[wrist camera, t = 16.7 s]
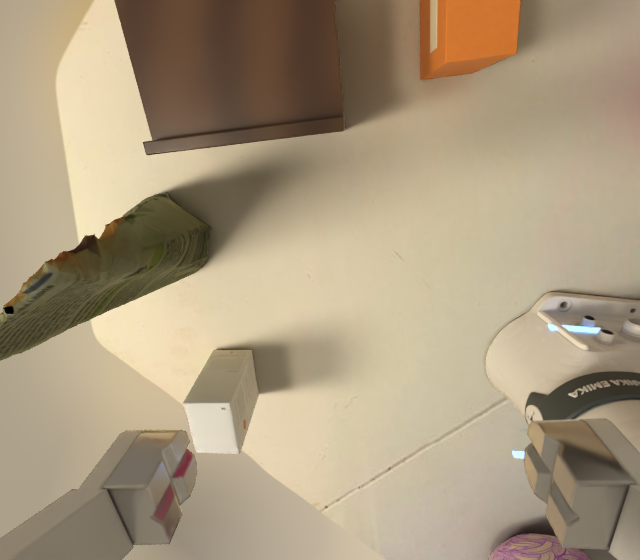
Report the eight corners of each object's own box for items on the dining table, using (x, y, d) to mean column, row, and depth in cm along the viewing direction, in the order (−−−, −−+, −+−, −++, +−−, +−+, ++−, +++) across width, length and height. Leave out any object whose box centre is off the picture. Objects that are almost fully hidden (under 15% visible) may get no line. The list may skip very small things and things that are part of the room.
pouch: (128, 268, 46) (-92, 408, 23) (123, 173, 41) (-158, 229, 18) (213, 284, 46) (78, 439, 23) (218, 191, 41) (56, 269, 18)
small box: (213, 348, 50) (181, 401, 40) (253, 348, 49) (230, 402, 40) (222, 394, 53) (194, 454, 43) (259, 395, 52) (239, 455, 43)
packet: (478, -44, 32) (531, -114, 22) (473, 72, 35) (517, 53, 26) (419, -34, 32) (447, -98, 23) (419, 80, 36) (444, 63, 26)
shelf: (334, -10, 33) (327, -74, 23) (345, 130, 38) (344, 131, 27) (171, 18, 35) (93, -31, 24) (200, 148, 40) (146, 155, 29)
